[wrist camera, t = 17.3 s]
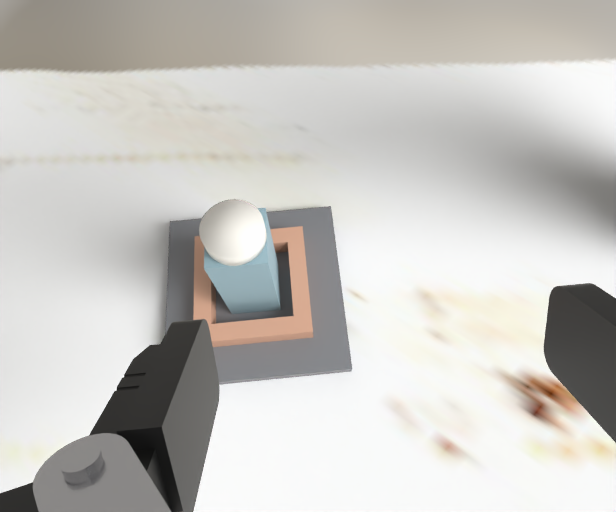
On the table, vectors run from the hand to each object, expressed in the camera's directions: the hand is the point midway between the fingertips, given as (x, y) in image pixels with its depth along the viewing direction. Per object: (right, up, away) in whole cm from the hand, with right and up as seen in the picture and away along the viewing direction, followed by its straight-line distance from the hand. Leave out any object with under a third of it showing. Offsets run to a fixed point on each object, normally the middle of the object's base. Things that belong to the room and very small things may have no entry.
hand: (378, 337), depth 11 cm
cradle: (-7, -2, +32) cm, 32 cm away
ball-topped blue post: (-6, -1, +31) cm, 31 cm away
